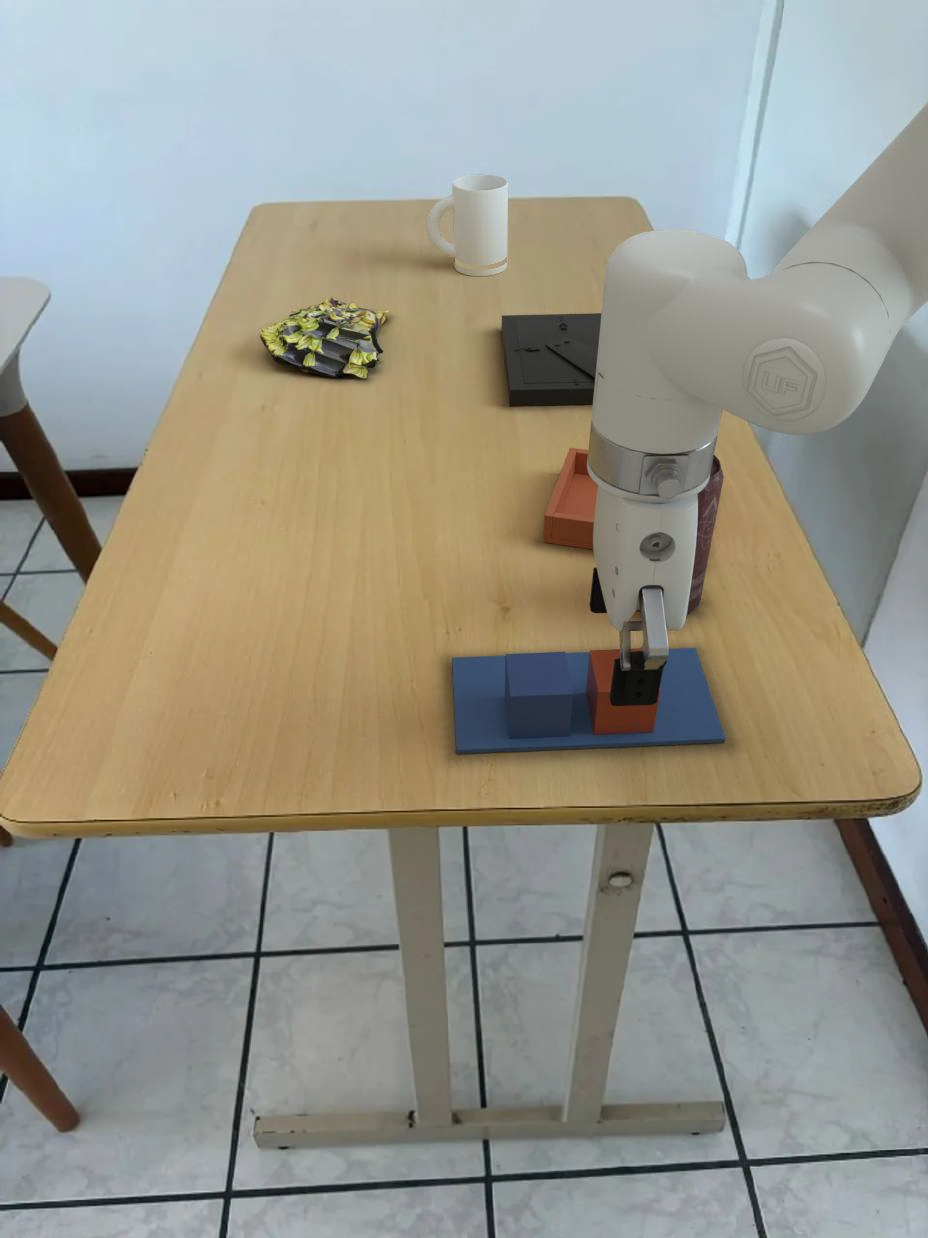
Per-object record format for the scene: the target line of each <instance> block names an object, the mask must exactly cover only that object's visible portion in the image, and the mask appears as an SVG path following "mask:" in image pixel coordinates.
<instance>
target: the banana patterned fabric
mask: <svg viewBox="0 0 928 1238" xmlns="http://www.w3.org/2000/svg"><path fill="white" fill-rule="evenodd" d="M389 312H390V310H389V309H387V310H375V309H369V308H364V307H359V306H357V305H356V304H355V302H354V301H353V302H350V303H346V302H344V301H341V300H340V299H338V300H335V299H334V298H333V296H331V297H329V298H325V300H323V301H322V302H321V303H319V304H317V305H315V304H311V305H310V306H309V307H305V308H302V309H292V310H291V312H290V314H289V316H286V317H284V318H283V319H282V320H281V321H277V322H275V323H274V325H272V326H267V327H266V329H265V328H262V327H260V330H261V332H260V333H259V339H260V341H261V343H262V344H263V346H264V347H265V349H266V350H267V351H268V353H269V355H270V357H271V358H272V360H273V361H274V363H275V364H280V365H282V366H285V367H290V368H292V369H293V368H294V369H297V370H300V371H302V372H303V373H311V374H314V375H319V376H323V377H326V378H327V377H328V378H338V377H339V378H340V377H344V374H347V375H353V376H356V377H358V378H361V379H367V378H368V375H369V373H368V368H369V369H375V367H376V366H377V365H378V362H379V361H380V359H378V355H380V354H383V353H384V350H383V349H382V348H381V346H380V344H379V342H378V337H377V331H378V329H379V328H381V326H382V325H383V324H384V323H385V322H386V321H387V320H388V318H389V316H388V313H389Z"/></svg>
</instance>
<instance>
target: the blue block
mask: <svg viewBox="0 0 928 1238" xmlns="http://www.w3.org/2000/svg"><path fill="white" fill-rule="evenodd" d="M566 653H567V652H566V651H550V652H549V651H547V652H525V653H523V652H519V653H505V655H506V657H505V702H506V712H507V722H508V731H509V738H510V739H516V738H540V737H564V736H569V735H570V723H571V711H572V699H573V692H572V686H571V681H570V675H569V670H568V664H567V658H566Z"/></svg>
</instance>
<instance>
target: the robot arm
mask: <svg viewBox="0 0 928 1238" xmlns="http://www.w3.org/2000/svg"><path fill="white" fill-rule="evenodd" d="M748 273H749V272H748V268H747V263H746V259H745V258H744V256H743V254H742V253H741V251H740V250H739V249H738V248H737V247H736V246H735V245H733V244H732V243H731V242H729V241H728V240H726V239H724V238H721V237H718V236H715V235H712V234H709V233H705V232H700V231H697V230H688V229H676V228H675V229H672V228H671V229H670V228H669V229H667V228H665V229H656V230H649V231H645V232H641V233H638V234H635V235H632V236H630V237H629V238H627V239H625V240H623V241H622V242H621V243H620V244H618V246H617V247H616V248H615V249H614V250H613V252H612V254H611V255H610V258H609V259H608V262H607V265H606V270H605V277H604V283H603V295H602V305H601V313H602V314H601V324H600V335H599V345H598V356H597V366H596V376H595V387H594V397H593V404H592V407H591V408H592V410H591V418H590V419H591V420H590V428H589V429H590V431H589V439H588V449H587V450H588V459H587V470H588V473H589V475H590V477H591V478H592V480H593V481H594V482H596V484H597V485H598V491H597V499H596V507H595V516H594V529H593V549H592V551H593V555H594V563H595V566H596V567H593V568H592V569H593V570H592V571H593V572H592V577H591V578H592V579H591V587H590V597H589V598H590V599H589V609H590V610H589V611H590V612H591V613H593V614H607V617H608V621H609V623H610V625H611V626H612V627H613V628H614V629H615V630H616V631H618V633H619V634H618V635H619V636H618V637H619V640H618V641H619V649H620V658H618V659H615V661H614V668H613V676H612V683H611V690H610V702H611V705H613V706H637V705H653V704H655V703H656V702H657V699H658V694H659V689H660V683H661V678H662V673H663V670H664V668H665V665H666V663H667V661H666V659H667V658H668V654H669V649H670V648H669V639H668V632H667V630H668V631H680V630H682V629H683V627H684V626H685V624H686V620H687V609H688V602H689V595H690V588H691V581H692V574H693V566H694V558H695V549H696V539H697V524H698V495H697V493H699V492H700V491H702V490H703V489H704V488H705V486H706V485H707V483H708V481H709V478H710V472H711V467H712V462H713V457H714V455H715V450H716V446H717V440H718V435H719V431H720V427H721V421H722V416H723V411H725V412H727V413H729V414H731V415H733V416H736V417H738V418H739V419H741V420H744V421H746V422H748V423H750V424H752V425H755V426H757V427H759V428H762V429H764V430H768V431H771V432H775V433H779V434H783V435H789V436H791V435H792V436H808V435H815V434H819V433H822V432H825V431H828V430H831V429H833V428H834V427H836V426H838V425H839V424H841V423H842V422H843V421H845V420H846V419H848V418H849V417H850V416H851V415H852V414H853V413H855V411H856V409H857V408H858V407H859V406H860V404H861V403H862V402H863V400H864V399H865V398H866V396H867V394H868V393H869V390H870V389H871V387H872V384H873V382H874V380H875V379H876V376H877V375H878V373H879V370H880V368H881V367H882V365H883V363H884V361H885V359H886V356H887V354H888V352H889V350H890V348H891V346H892V344H893V342H894V340H895V339H896V337H897V335H898V333H899V332H900V330H901V328H903V326H904V325H905V324H906V323H907V322H908V321H909V320H910V319H911V318H912V317H913V316H914V315H915V314H916V313H917V312H918V311H919V310H921V308H923V306H925V305H926V304H927V303H928V101H927V102H926V103H925V104H924V105H923V106H922V107H921V109H920V110H919V111H918V113H917V114H916V115H915V116H914V117H912V119H911V120H910V121H909V122H908V123H907V124H906V125H905V127H904V128H903V129H902V130H901V131H900V132H899V133H898V134H897V135H896V136H895V138H894V139H893V140H892V141H891V142H890V143H889V144H888V145H887V146H886V147H885V148H884V149H883V150H882V151H881V153H880V154H879V155H878V156H877V157H876V158H875V159H874V160H873V161H872V162H871V164H870V165H868V167H866V169H865V170H864V171H863V172H862V173H861V174H860V176H859V177H857V179H855V180H854V182H853V183H852V184H851V185H850V186H849V187H848V188H847V189H846V190H845V192H843V193H842V195H841V196H840V197H839V198H838V199H837V200H836V201H835V202H834V203H833V204H832V205H831V206H830V207H829V208H828V210H826V212H825V213H824V214H823V215H822V216H821V217H820V218H819V219H818V220H817V221H816V223H814V224H813V226H811V228H810V229H808V231H807V232H806V233H805V234H804V235H803V236H802V237H801V238H800V239H799V241H797V243H796V244H795V245H794V246H793V247H792V248H791V249H790V250H789V251H788V253H786V255H784V257H783V258H782V259H781V260H780V261H779V263H778V264H777V265H776V266H775V267H774V268H773V269H772V271H771V272H770V273H769V274H767V275H764V276H761V277H758V278H750V277H749V275H748ZM636 611H640V620H631V619H632V617H633V616H634V614H635V613H636ZM635 631H636V632H641V631H642V646H641V648H642V651H634V652H631V649H632V635H631V634H632V632H635Z"/></svg>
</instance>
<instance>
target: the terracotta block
mask: <svg viewBox="0 0 928 1238" xmlns="http://www.w3.org/2000/svg"><path fill="white" fill-rule="evenodd" d="M634 651H642V647H640V648H631V652H634ZM589 652H590V653H589V663H588V674H587V684H586V696H587V701H588V707H589V712H590V717H591V722H592V727H593V732H594V734H595V735H596V734H620V733H644V732H654V726H655V720H656V714H657V708H658V702H659V696H660V689H659V694H658V699H657V702H656V703H655V704H653V705H637V706H613V705H611V702H610V690H611V683H612V676H613V668H614V661H615V659H618V658H620V648H619V649H618V648H614V649H590V650H589Z"/></svg>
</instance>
